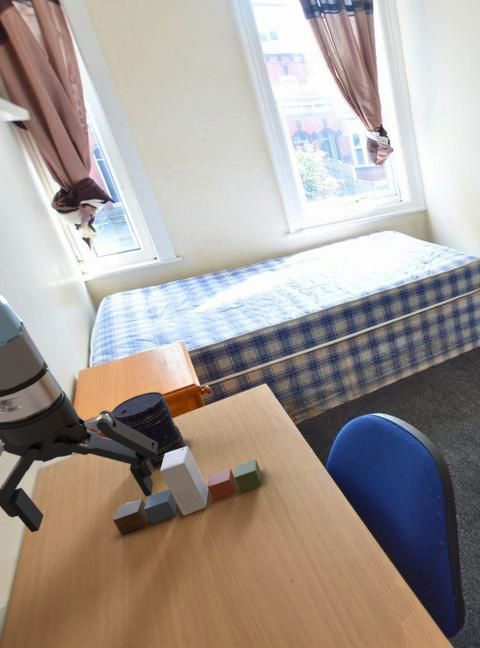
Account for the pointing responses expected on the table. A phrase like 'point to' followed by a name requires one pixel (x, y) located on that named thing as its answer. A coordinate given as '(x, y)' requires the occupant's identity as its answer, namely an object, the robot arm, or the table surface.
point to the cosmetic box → (184, 480)
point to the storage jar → (151, 422)
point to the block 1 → (131, 516)
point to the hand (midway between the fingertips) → (96, 506)
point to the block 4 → (248, 475)
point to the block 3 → (222, 484)
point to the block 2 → (160, 506)
